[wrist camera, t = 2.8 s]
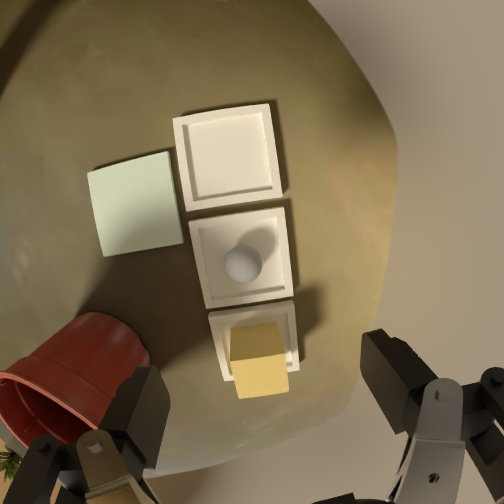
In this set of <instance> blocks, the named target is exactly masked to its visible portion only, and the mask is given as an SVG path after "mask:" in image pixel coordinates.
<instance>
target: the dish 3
mask: <svg viewBox="0 0 504 504" xmlns="http://www.w3.org/2000/svg"><path fill="white" fill-rule="evenodd" d="M208 319H209V323H210V327H211V331H212V336H213V340H214V344H215V347H216V351H217V355H218V359H219V363H220V367H221V370H222V374H223V378H224V381H230V380H234V377H233V373H232V369H231V365H230V329H231V328H237V327H244V326H251V325H257V324H264V323H270V322H277V325H278V329H279V332H280V336H281V340H282V343H283V347H284V351H285V356H286V365H287V372H292V371H297V370H299V357H298V343H297V330H296V318H295V307H294V303H293V300H288V301H282V302H276V303H269V304H263V305H257V306H250V307H243V308H236V309H229V310H222V311H214V312H209V315H208Z"/></svg>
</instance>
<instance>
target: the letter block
mask: <svg viewBox="0 0 504 504" xmlns="http://www.w3.org/2000/svg"><path fill="white" fill-rule="evenodd" d="M230 365H231V369H232V373H233V377H234V381H235V385H236V389H237V393H238V397H239V399H242V398H250V397H258V396H265V395H271V394H278V393H284V392H289V386H288V375H287V365H286V356H285V351H284V347H283V343H282V340H281V336H280V332H279V329H278V325H277V322H270V323H264V324H257V325H251V326H244V327H237V328H231V329H230Z"/></svg>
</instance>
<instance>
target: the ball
mask: <svg viewBox="0 0 504 504" xmlns="http://www.w3.org/2000/svg"><path fill="white" fill-rule="evenodd" d="M224 268H225V271H226V273H227V275H228V276H229V278H230V279H232V280H233V281H235V282H237V283H249V282H252V281H253V280H255V279H256V278H257V277H258V276H259V274H260V273H261V270H262V259H261V256H260V254H259V253H258V252H257V251H256V250H255V249H254V248H252V247H250V246H246V245H240V246H237V247H234V248H233V249H231V250H230V251H229V252H228V254H227V255H226V257H225V261H224Z"/></svg>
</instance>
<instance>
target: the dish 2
mask: <svg viewBox="0 0 504 504" xmlns="http://www.w3.org/2000/svg"><path fill="white" fill-rule="evenodd" d="M188 224H189V229H190V234H191V240H192V245H193V250H194V255H195V260H196V265H197V270H198V274H199V279H200V284H201V288H202V293H203V297H204V302H205V306H206V309H209V308H217V307H224V306H232V305H239V304H246V303H252V302H259V301H265V300H272V299H278V298H284V297H290V296H293V285H292V275H291V265H290V256H289V247H288V238H287V229H286V221H285V212H284V207H282V206H279V207H272V208H265V209H258V210H251V211H244V212H238V213H231V214H225V215H219V216H212V217H206V218H200V219H194V220H190V221H189V222H188ZM240 245H246V246H250V247H252V248H254V249H255V250H256V251H257V252H258V253H259V254H260V256H261V259H262V270H261V273H260V274H259V276H258V277H257V278H256V279H255V280H253V281H252V282H249V283H237V282H235V281H233V280H232V279H230V278H229V276H228V275H227V273H226V271H225V268H224V261H225V257H226V255H227V254H228V252H229V251H230V250H231V249H233V248H234V247H237V246H240Z"/></svg>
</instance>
